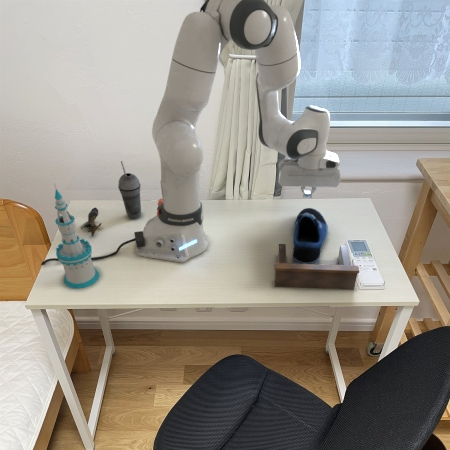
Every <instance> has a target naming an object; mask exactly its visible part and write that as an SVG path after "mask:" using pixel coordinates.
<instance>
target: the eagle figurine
mask: <svg viewBox="0 0 450 450" xmlns="http://www.w3.org/2000/svg"><path fill="white" fill-rule="evenodd" d="M98 216H99V209H98V207H93V208H92V209H91V210H90V211H89V213H88V215H87V218H88V219H87V221H85V222H84V223H83V224H82V225H81V226H80V230H85V228H87V229H88V231H87V232H88V233H91V237H94V234H95V232H96V230H97V229H98V230H100V229H101V228H100V227H101V225H102V223H101V222H100V223H99V224H98V225H97V224H96V222H95V221H96V219H97V217H98Z"/></svg>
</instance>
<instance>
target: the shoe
mask: <svg viewBox="0 0 450 450" xmlns="http://www.w3.org/2000/svg"><path fill="white" fill-rule="evenodd" d="M293 227H294V233H293V239H292V240H293V242H292V243H293V250H292V254H291V255H292V264H319V261H320V258H321V252H322V249H323V246H324V244H325V242H326V239H327V238H328V234H329V226H328V223H327V221H326V219H325V217H324V216H323V214H322V213H321V212H320V211H319V210H317V209H315V208H312V207H305V208H303V209H302V210H301V211H300V212H298V214H297V215H296V217H295V221H294V225H293Z"/></svg>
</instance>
